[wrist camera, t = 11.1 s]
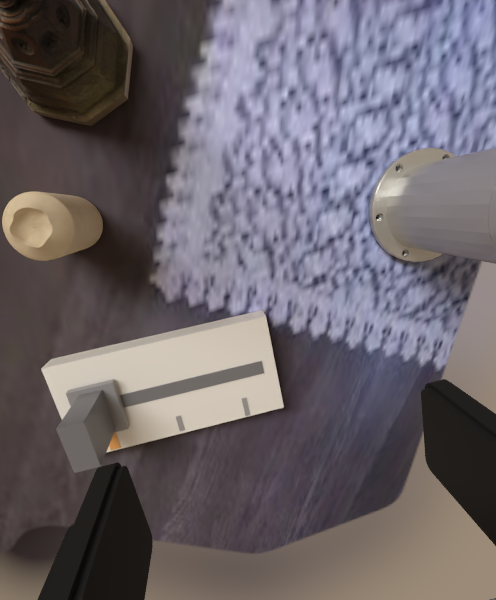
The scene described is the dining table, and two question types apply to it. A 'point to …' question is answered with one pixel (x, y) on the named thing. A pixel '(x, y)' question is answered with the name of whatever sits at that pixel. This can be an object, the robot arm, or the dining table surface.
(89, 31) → the bird statue
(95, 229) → the candle
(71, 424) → the fader tab
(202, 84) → the dining table surface
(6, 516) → the dining table surface
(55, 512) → the dining table surface
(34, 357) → the dining table surface
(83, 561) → the robot arm
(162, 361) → the fader console
